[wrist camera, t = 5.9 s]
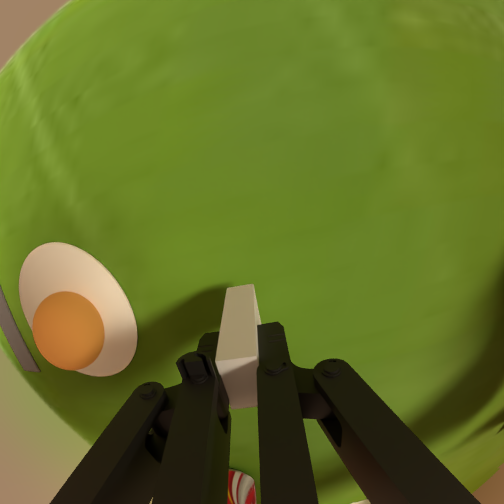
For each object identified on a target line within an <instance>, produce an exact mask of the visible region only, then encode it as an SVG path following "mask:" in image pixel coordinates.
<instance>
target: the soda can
mask: <svg viewBox="0 0 504 504" xmlns="http://www.w3.org/2000/svg"><path fill="white" fill-rule="evenodd" d="M227 504H256V490H255V483H254V480H253V478H252V477H250V476H249V475H247V474H244V473H243V472H241V471H239V470H235V469H230V468H229V477H228V501H227Z"/></svg>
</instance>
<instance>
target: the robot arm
mask: <svg viewBox="0 0 504 504" xmlns="http://www.w3.org/2000/svg"><path fill="white" fill-rule="evenodd" d="M176 365H177V367H178V369H179V372H180V374H181V376H182V379H183V380H182V383H181V384H178V385H176V386H172V387H169V388H165V389H164V387H163V386H162V385H161V384H160V383H158V382H147V383H144V384H142V385H140V386H138V387H137V388H136V389H135V390H134V392H133V393H132V394H131V396H130V397H129V398H128V400H127V401H126V402H125V404H124V405H123V406H122V408H121V409H120V410H119V411H118V413H117V414H116V415H115V417H114V418H113V419H112V421H111V422H110V423H109V425H108V426H107V427H106V429H105V430H104V431H103V433H102V434H101V435H100V437H99V438H98V439H97V441H96V442H95V443H94V445H93V446H92V447H91V449H90V450H89V451H88V453H87V454H86V455H85V457H84V458H83V459H82V461H81V462H80V463H79V465H78V466H77V467H76V469H75V470H74V471H73V473H72V474H71V475H70V477H69V478H68V479H67V481H66V482H65V484H64V485H63V486H62V488H61V489H60V490H59V492H58V493H57V495H56V496H55V497H54V499H53V500H52V501H51V503H50V504H149V503H150V501H151V499H152V497H153V500H152V504H227V501H228V477H229V455H230V434H231V415H230V412H229V403H230V406H231V409H238V408H248V407H256V406H258V431H259V458H260V486H261V504H318V498H317V493H316V487H315V481H314V476H313V470H312V465H311V460H310V454H309V449H308V444H307V438H306V433H305V428H304V423H303V418H307V419H317V422H318V423H319V425H320V427H321V428H322V430H323V431H324V433H325V435H326V436H327V438H328V439H329V441H330V442H331V444H332V446H333V447H334V449H335V450H336V452H337V453H338V455H339V456H340V458H341V459H342V461H343V463H344V464H345V466H346V467H347V469H348V470H349V472H350V473H351V475H352V476H353V478H354V479H355V481H356V482H357V484H358V485H359V487H360V488H361V490H362V491H363V493H364V494H365V496H366V497H367V499H368V500H369V502H370V503H371V504H481V503H480V502H479V501H478V500H477V499H476V498H474V496H473V495H472V494H471V493H470V492H469V491H468V490H467V489H466V488H465V487H464V486H463V485H462V484H461V483H460V482H459V481H458V480H457V478H456V477H455V476H454V475H453V474H452V473H451V472H450V471H449V470H448V469H447V468H446V467H445V466H444V465H443V464H442V463H441V462H440V461H439V460H438V459H437V458H436V456H435V455H434V454H433V453H432V452H431V451H430V450H429V449H428V448H427V447H426V446H425V445H424V444H423V443H422V442H421V441H420V440H419V439H418V437H417V436H416V435H415V434H414V433H413V432H412V431H411V430H410V429H409V428H408V427H407V426H406V425H405V424H404V423H403V422H402V421H401V420H400V418H399V417H398V416H397V415H396V414H395V413H394V412H393V411H392V410H391V409H390V408H389V407H388V406H387V405H386V404H385V403H384V401H383V400H382V399H381V398H380V397H379V396H378V395H377V394H376V393H375V392H374V391H373V390H372V389H371V388H370V387H369V385H368V384H367V383H366V382H365V381H364V380H363V379H362V378H361V377H360V376H359V375H358V374H357V373H356V372H355V371H354V369H353V368H352V367H351V366H350V365H349V364H348V363H347V362H345V361H344V360H340V359H327V360H323V361H321V362H319V363H318V364H317V365H316V366H315V367H314V369H305V368H300V367H297V366H296V365H294V364H293V363H292V362H291V360H290V356H289V351H288V346H287V342H286V337H285V332H284V327H283V326H282V325H281V324H280V323H279V322H272V323H267V324H261V321H260V316H259V311H258V306H257V300H256V295H255V290H254V285H253V284H248V285H242V286H236V287H230V288H227V291H226V297H225V303H224V309H223V315H222V321H221V327H220V331H218V332H211V333H205V334H204V335H203V336H202V337H201V339H200V340H199V344H198V348H197V351H194V352H189V353H187V354H185V355H183V356H181V357H180V358H179V359H178V360H177V362H176ZM151 428H152V429H151ZM150 430H151V431H150ZM149 431H150V432H149Z"/></svg>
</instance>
